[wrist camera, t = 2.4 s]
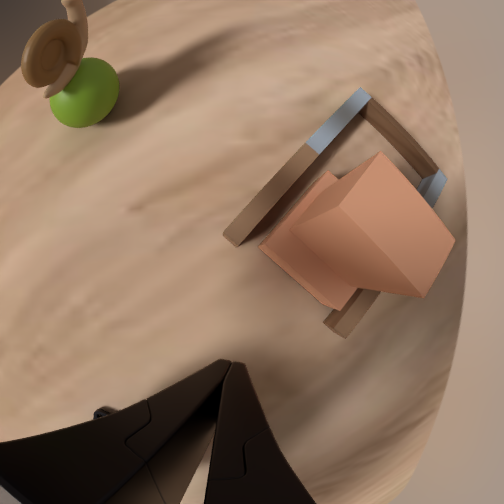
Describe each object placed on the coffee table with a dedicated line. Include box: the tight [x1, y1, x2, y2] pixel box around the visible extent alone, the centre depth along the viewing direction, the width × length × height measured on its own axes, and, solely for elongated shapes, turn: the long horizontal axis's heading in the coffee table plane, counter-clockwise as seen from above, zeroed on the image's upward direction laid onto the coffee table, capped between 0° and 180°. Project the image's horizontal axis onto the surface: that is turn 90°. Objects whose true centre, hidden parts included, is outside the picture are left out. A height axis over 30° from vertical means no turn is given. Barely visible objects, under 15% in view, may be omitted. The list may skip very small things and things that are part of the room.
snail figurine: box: [21, 0, 119, 128], centre depth 12 cm, size 5×6×12 cm
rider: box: [258, 151, 456, 311], centre depth 14 cm, size 6×6×10 cm
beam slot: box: [223, 87, 447, 339], centre depth 19 cm, size 16×10×2 cm
